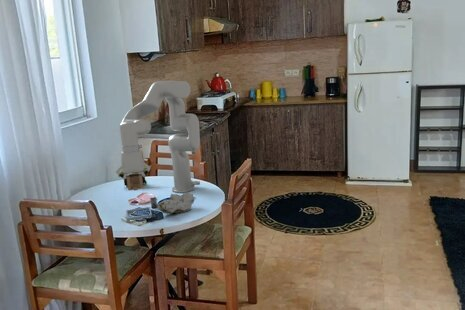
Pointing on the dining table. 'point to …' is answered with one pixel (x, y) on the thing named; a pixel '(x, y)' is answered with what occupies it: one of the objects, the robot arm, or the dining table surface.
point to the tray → (129, 212)
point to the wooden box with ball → (134, 181)
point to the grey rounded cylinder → (153, 202)
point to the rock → (176, 203)
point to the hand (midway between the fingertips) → (135, 185)
